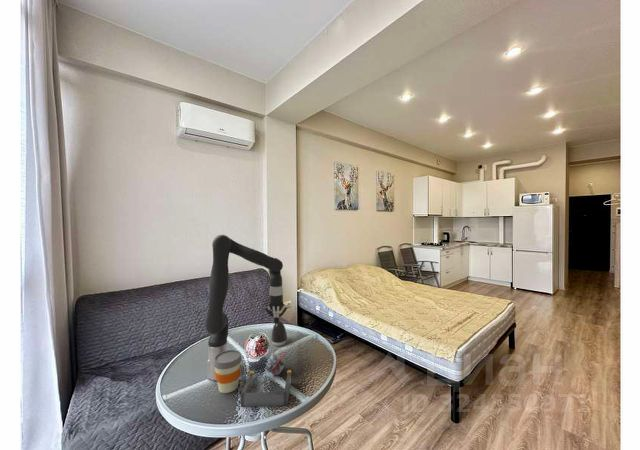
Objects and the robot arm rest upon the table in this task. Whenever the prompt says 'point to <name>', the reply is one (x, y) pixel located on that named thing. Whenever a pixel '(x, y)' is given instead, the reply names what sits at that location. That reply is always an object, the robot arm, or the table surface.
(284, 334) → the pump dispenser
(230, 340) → the table surface
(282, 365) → the brake caliper
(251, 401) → the cradle
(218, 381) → the reusable coffee cup
